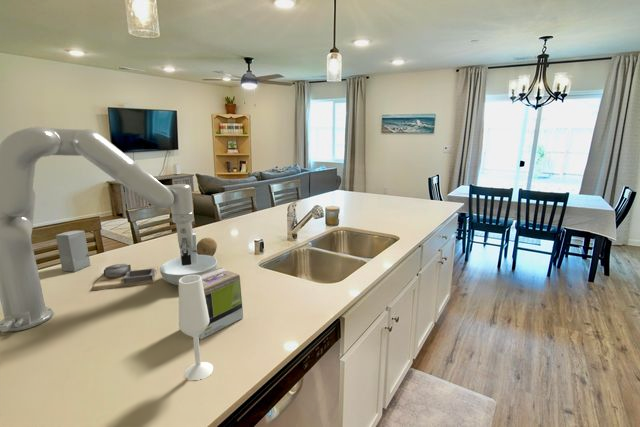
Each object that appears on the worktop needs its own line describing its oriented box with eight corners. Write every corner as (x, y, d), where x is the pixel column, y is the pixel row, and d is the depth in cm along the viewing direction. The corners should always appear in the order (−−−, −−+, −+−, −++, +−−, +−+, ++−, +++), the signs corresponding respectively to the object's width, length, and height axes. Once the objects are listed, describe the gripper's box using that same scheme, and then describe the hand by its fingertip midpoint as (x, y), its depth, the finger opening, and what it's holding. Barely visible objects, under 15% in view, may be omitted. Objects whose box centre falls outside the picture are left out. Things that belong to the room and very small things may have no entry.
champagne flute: (188, 385, 77) (178, 288, 71) (180, 368, 82) (170, 277, 76) (217, 373, 80) (210, 280, 75) (208, 358, 86) (200, 270, 80)
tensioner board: (153, 282, 129) (151, 270, 128) (93, 290, 123) (90, 277, 122) (157, 269, 142) (156, 258, 141) (103, 275, 136) (101, 264, 134)
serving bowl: (195, 266, 146) (194, 251, 144) (229, 276, 135) (228, 260, 134) (150, 283, 129) (148, 266, 127) (184, 297, 118) (182, 279, 116)
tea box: (224, 308, 110) (221, 266, 107) (243, 318, 104) (241, 274, 101) (181, 328, 99) (176, 281, 96) (200, 341, 93) (195, 292, 90)
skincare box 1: (74, 272, 139) (68, 235, 135) (60, 271, 140) (53, 234, 137) (92, 264, 147) (86, 230, 143) (78, 263, 148) (72, 229, 145)
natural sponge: (204, 264, 148) (202, 242, 145) (192, 259, 153) (190, 238, 151) (221, 258, 155) (219, 237, 152) (209, 254, 160) (208, 234, 158)
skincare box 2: (181, 266, 127) (178, 236, 125) (181, 262, 132) (178, 232, 129) (198, 264, 130) (195, 234, 127) (198, 260, 134) (195, 231, 131)
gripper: (193, 222, 119) (197, 267, 123) (194, 211, 135) (197, 252, 139) (170, 223, 116) (175, 269, 120) (174, 213, 132) (178, 254, 136)
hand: (187, 260), depth 129 cm, fingers open, 9 cm apart
